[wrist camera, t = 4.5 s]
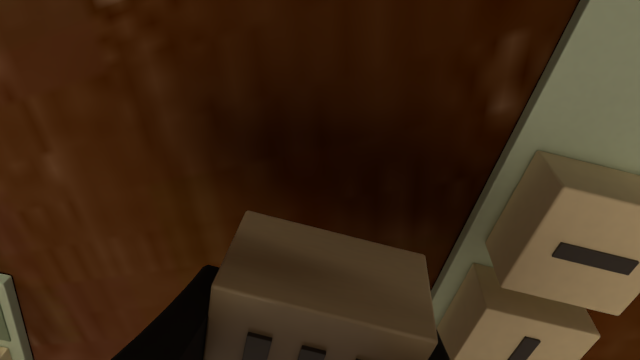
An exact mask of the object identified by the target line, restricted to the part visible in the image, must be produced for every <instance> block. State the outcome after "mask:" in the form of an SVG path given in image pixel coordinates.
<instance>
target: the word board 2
mask: <svg viewBox="0 0 640 360" xmlns="http://www.w3.org/2000/svg"><path fill="white" fill-rule="evenodd" d="M639 293H640V0H580V2H579V4H578V6H577V8H576V10H575V12H574V14H573V16H572V17H571V19H570V21H569V23H568V25H567V27H566V29H565V31H564V33H563V35H562V37H561V39H560V41H559V43H558V45H557V47H556V49H555V51H554V53H553V54H552V56H551V58H550V60H549V62H548V64H547V66H546V68H545V70H544V72H543V74H542V76H541V78H540V80H539V82H538V84H537V86H536V88H535V90H534V92H533V93H532V95H531V97H530V99H529V101H528V103H527V105H526V107H525V109H524V111H523V113H522V115H521V117H520V119H519V121H518V123H517V125H516V127H515V129H514V130H513V132H512V134H511V136H510V138H509V140H508V142H507V144H506V146H505V148H504V150H503V152H502V154H501V156H500V158H499V160H498V162H497V164H496V166H495V167H494V169H493V171H492V173H491V175H490V177H489V179H488V181H487V183H486V185H485V187H484V189H483V191H482V193H481V195H480V197H479V199H478V201H477V203H476V204H475V206H474V208H473V210H472V212H471V214H470V216H469V218H468V220H467V222H466V224H465V226H464V228H463V230H462V232H461V234H460V236H459V238H458V240H457V241H456V243H455V245H454V247H453V249H452V251H451V253H450V255H449V257H448V259H447V261H446V263H445V265H444V267H443V269H442V271H441V273H440V275H439V277H438V279H437V280H436V282H435V284H434V286H433V288H432V290H431V297H432V304H433V311H434V317H435V324H436V329H437V331H438V333H439V336H440V338H441V340H442V342H443V344H444V347H445V349H446V351H447V353H448V356H449V358H450V360H580V359H581V358H582V357H583V355H584V354H585V353H586V352H587V351H588V350H589V349H590V348H591V347H592V346H593V344H594V343H595V342H596V341H597V340H598V339H599V338H600V334H599V332H598V330H597V329H596V327H595V325H594V323H593V321H592V319H591V318H590V316H589V314H588V312H587V310H586V309H585V308H588V309H592V310H596V311H600V312H604V313H608V314H612V315H616V316H618V315H620V314H621V313H622V312H623V311H624V310H625V308H626V307H627V306H628V305H629V304H630V303H631V302H632V301H633V300H634V299H635V297H636V296H637V295H638V294H639Z"/></svg>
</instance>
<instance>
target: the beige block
mask: <svg viewBox="0 0 640 360" xmlns="http://www.w3.org/2000/svg"><path fill="white" fill-rule="evenodd" d="M437 344H438V337H437V331H436V324H435V317H434V311H433V304H432V297H431V291H430V284H429V277H428V271H427V264H426V257H425V255H423V254H419V253H415V252H411V251H407V250H403V249H399V248H395V247H391V246H387V245H383V244H379V243H375V242H371V241H367V240H364V239H360V238H356V237H352V236H348V235H344V234H340V233H336V232H332V231H328V230H324V229H320V228H316V227H312V226H308V225H304V224H300V223H296V222H292V221H288V220H284V219H280V218H276V217H272V216H268V215H264V214H260V213H256V212H252V211H246V213H245V214H244V217H243V219H242V221H241V223H240V225H239V227H238V229H237V232H236V234H235V236H234V238H233V240H232V242H231V245H230V247H229V249H228V251H227V253H226V255H225V258H224V260H223V262H222V264H221V266H220V268H219V271H218V273H217V275H216V277H215V279H214V281H213V283H212V286H211V293H210V302H209V311H208V319H207V328H206V336H205V345H204V354H203V360H428V359H429V357H430V356H431V354H432V352H433V351H434V349H435V347H436V345H437Z"/></svg>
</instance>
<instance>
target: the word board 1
mask: <svg viewBox="0 0 640 360" xmlns="http://www.w3.org/2000/svg"><path fill="white" fill-rule="evenodd" d="M0 360H33V357H32V353H31V350H30V346H29V342H28V338H27V334H26V331H25V327H24V323H23V319H22V315H21V312H20V308H19V304H18V300H17V296H16V293H15V289H14V285H13V281H12V277H11V276H9V275H5V274H1V273H0Z"/></svg>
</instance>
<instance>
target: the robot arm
mask: <svg viewBox="0 0 640 360" xmlns="http://www.w3.org/2000/svg"><path fill="white" fill-rule="evenodd" d="M218 271H219V267H215V266H211V265H207V266H204V267H203V268H202V269H201V270H200V271H199V273H198V274H197V275H196V276H195V277H194V279H193V280H192V281H191V282H190V283H189V284H188V285H187V287H186V288H185V289H184V290H183V291H182V292H181V293H180V294H179V295H178V296H177V297H176V298H175V299H174V301H173V302H172V303H171V304H170V305H169V306H168V307H167V308H166V309H165V310H164V311H163V312H162V313H161V314H160V315H159V316H158V317H157V318H156V319H155V320H154V321H152V322H151V323H150V324H149V325H148V326H147V327H146V328H145V329H144V330H143V331H142V332H141V333H140V334H139V335H138V336H137V337H136V338H135V339H134V340H132V341H131V342H130V343H129V344H128V345H127V346H126V347H124V348H123V349H122V350H121V351H120V352H119V353H118V354H117V355H115V356H114V357H113V358H112V359H111V360H203V354H204V345H205V336H206V328H207V319H208V311H209V302H210V293H211V286H212V283H213V281H214V279H215V277H216V275H217V273H218ZM436 331H437V329H436ZM437 337H438V344H437V345H436V347H435V349H434V351H433V352H432V354H431V356H430V357H429V359H428V360H450V358H449V356H448V353H447V351H446V349H445V347H444V344H443V342H442V340H441V338H440V336H439V333H438V331H437Z"/></svg>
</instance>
